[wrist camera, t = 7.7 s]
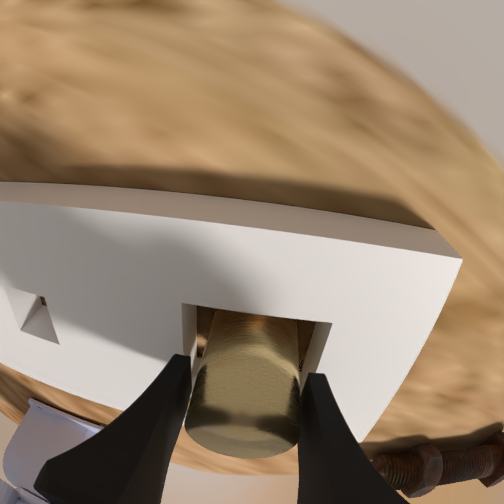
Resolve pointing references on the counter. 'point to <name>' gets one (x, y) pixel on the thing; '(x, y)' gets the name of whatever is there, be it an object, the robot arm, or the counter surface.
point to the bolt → (442, 466)
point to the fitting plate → (209, 288)
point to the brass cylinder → (247, 387)
